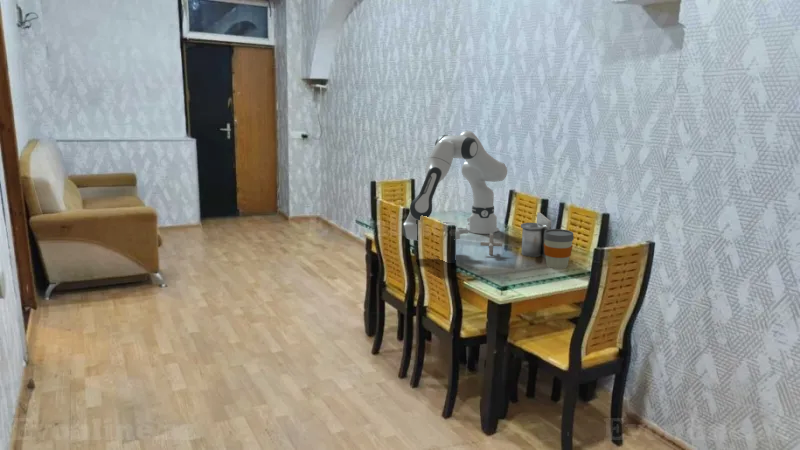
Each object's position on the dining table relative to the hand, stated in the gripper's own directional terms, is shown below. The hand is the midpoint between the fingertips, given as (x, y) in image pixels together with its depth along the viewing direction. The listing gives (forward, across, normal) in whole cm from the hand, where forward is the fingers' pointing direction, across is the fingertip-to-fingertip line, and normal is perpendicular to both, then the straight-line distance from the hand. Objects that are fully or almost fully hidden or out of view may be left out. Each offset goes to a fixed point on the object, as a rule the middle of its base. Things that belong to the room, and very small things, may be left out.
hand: (467, 230), depth 259 cm
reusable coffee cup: (+37, -18, +12) cm, 43 cm away
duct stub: (+30, 0, +11) cm, 32 cm away
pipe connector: (+11, 0, +12) cm, 16 cm away
